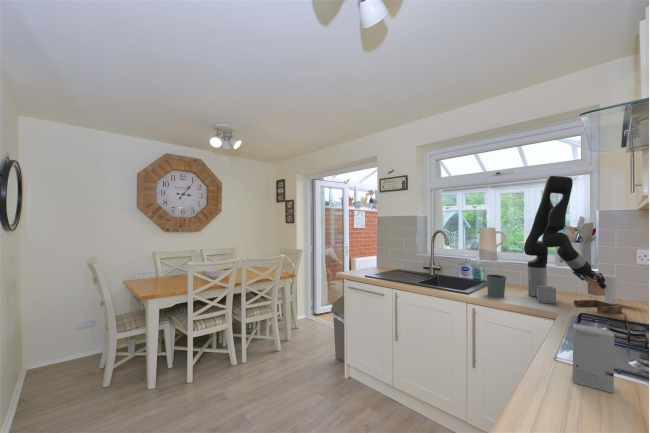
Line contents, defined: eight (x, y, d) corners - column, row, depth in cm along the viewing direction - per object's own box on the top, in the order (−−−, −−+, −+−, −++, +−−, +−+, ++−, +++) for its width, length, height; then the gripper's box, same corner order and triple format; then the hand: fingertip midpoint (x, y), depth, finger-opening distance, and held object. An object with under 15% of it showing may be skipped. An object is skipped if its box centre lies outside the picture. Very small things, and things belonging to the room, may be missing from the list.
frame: (599, 313, 141) (599, 307, 142) (574, 305, 154) (574, 300, 155) (621, 312, 142) (621, 306, 142) (595, 305, 155) (595, 299, 155)
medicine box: (554, 302, 162) (553, 286, 162) (556, 304, 158) (556, 288, 158) (536, 300, 165) (536, 285, 166) (538, 302, 161) (538, 286, 162)
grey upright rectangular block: (572, 383, 79) (571, 328, 80) (572, 374, 84) (571, 322, 84) (616, 394, 74) (614, 335, 74) (613, 384, 78) (612, 329, 79)
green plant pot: (485, 293, 183) (485, 273, 183) (504, 294, 179) (504, 275, 179) (488, 296, 173) (487, 276, 174) (507, 298, 170) (507, 277, 170)
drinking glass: (621, 305, 156) (621, 277, 156) (607, 304, 157) (606, 276, 157) (612, 301, 162) (611, 274, 163) (597, 301, 164) (597, 274, 164)
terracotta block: (596, 295, 146) (596, 277, 146) (587, 293, 150) (587, 276, 151) (604, 295, 146) (604, 277, 147) (595, 293, 151) (595, 276, 151)
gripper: (595, 259, 141) (619, 284, 142) (568, 256, 156) (590, 278, 156) (585, 270, 141) (609, 295, 141) (559, 266, 155) (581, 289, 155)
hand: (599, 286), depth 149 cm, fingers closed on terracotta block, 4 cm apart
